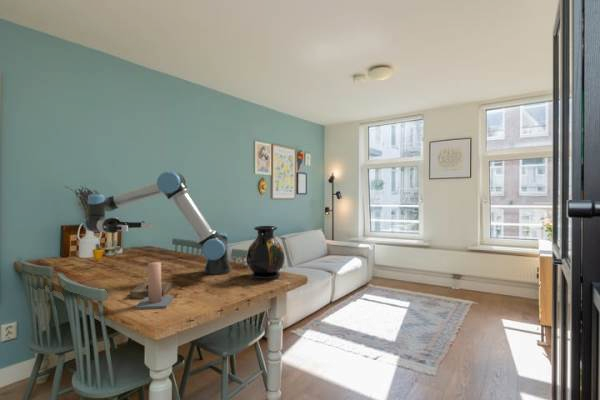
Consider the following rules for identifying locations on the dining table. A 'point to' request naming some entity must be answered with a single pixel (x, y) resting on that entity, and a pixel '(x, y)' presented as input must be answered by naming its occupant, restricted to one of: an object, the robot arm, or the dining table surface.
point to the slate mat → (146, 305)
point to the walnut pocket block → (142, 290)
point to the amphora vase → (265, 255)
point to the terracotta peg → (154, 282)
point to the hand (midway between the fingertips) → (139, 227)
